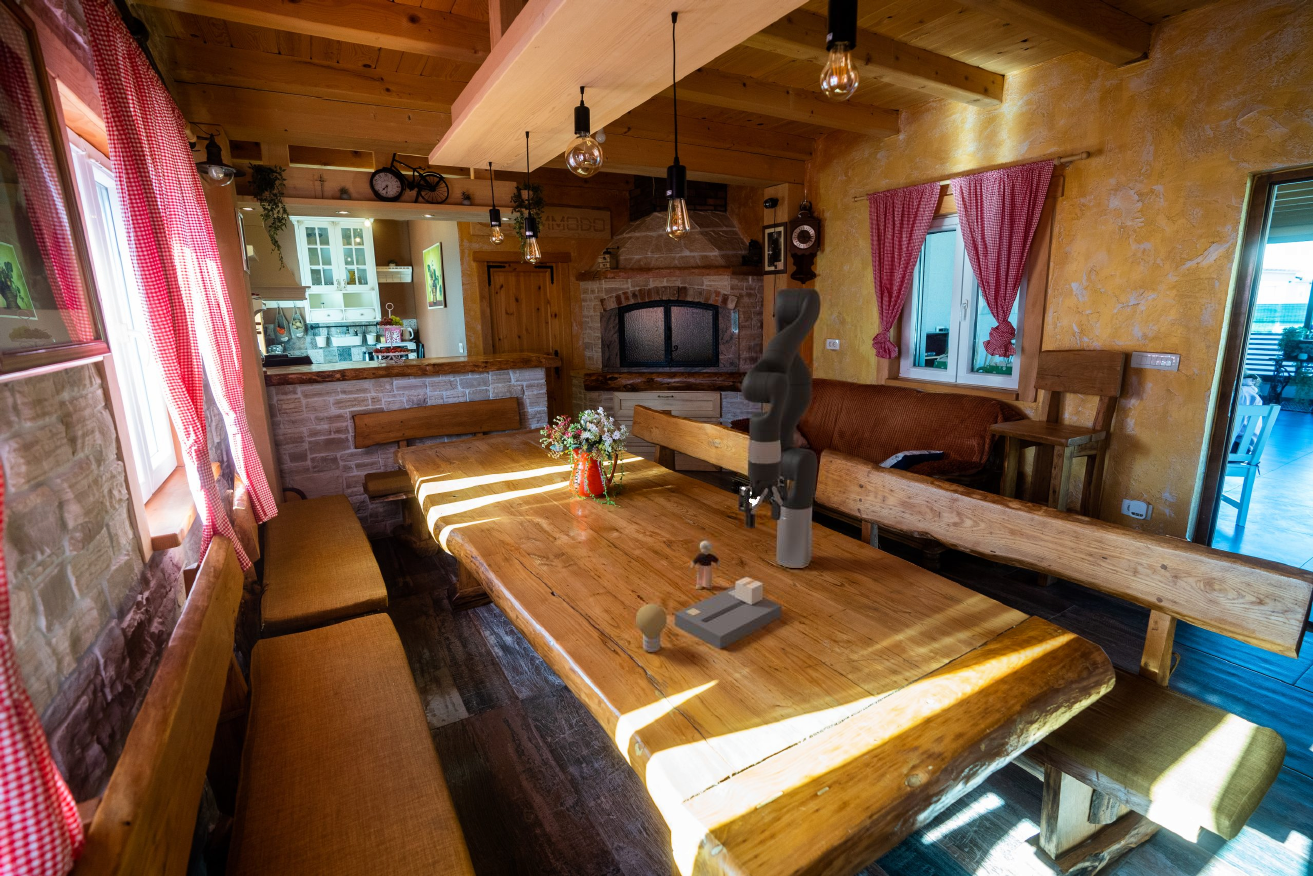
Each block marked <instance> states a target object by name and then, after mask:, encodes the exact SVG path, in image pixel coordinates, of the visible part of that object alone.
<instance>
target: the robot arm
mask: <svg viewBox="0 0 1313 876" xmlns="http://www.w3.org/2000/svg"><path fill="white" fill-rule="evenodd" d="M821 305H822V304H821V298H820V294H819V292H818V290H817V289H816V288H815V289H814V288H784V289H783V288H782V289H779V290H778V291H777V293H776V295H775V299H774V325H775V335H774V336H773V337H772V339H770V340H769V341H768V344H767V345H766V346H765V347H766V348H765V350H764V352H763V354H762V357H761V358H760V359H759V360H758V361H757V362H756V363H755V364H754V365H753V366H752V367H751V368H750V369H749V370H748V372H747V373H746V374H745V376H744V377H743V380H742V383H741V394H742V396H743V398H744V399H745V401H747V402H749V403H757V404H770V407H769V409H768V411H763V412H762V411H760V412H755V413H753V414H751V416H750V417H749V426H748V427H749V439H748V448H747V476H748V478H749V480H750V482H749V485H748V486H744V485H741V486H739V489H738V490H739V492H738V504H737V505H738V506H737V507H738V508H737V509H738V511H740V512H741V513H745V517H744V519H745V522H744V523H745V526H746V528H747V529H750V530H753V529H755V528H756V510H757V509H758V507H760V506H761V504H762V502H765V501H766V500H770V502H771V504H770V505H771V509H770V510H771V512H770V518H771V520H774V521H777V528H776V530H777V532H776V534H777V535H776V560H775V562H776V561H777V562H776V564H777V563H778V564H780V565H783V566H786V567H794V568H795V567H796V568H797V567H803V566H806V565H808V564H809V563H811V562H810V560H811V561H812V558H813V557H812V555H813V554H812V553H813V529H812V519H813V518H812V517H813V500H814V496H815V492H816V484H817V483H816V482H817V480H816V479H817V473H818V472H817V471H818V459H817V458H818V457H817V455H816V453H815V451H813V450H811V449H808V448H803V447H802V448H801V447H796V446H794V445H795V444H794V439H795V438H794V437H795V430H796V428H797V425H798V424H799V422H800V420H801V419H802V417H803V416H804V414H805V413H806V411H807V410H808V408H809V405H810V403H811V401H812V390H813V389H812V387H813V386H812V384H813V383H812V377H813V376H812V373H811V371H810V368H809V367H808V364H807V363H806V361H805V359H803V357H802V355H801V354H800V353H799V351H798V350H799V348H800V346H801V345H802V343H803V342H804V341H805V339H806V338H807V337H808V335H809V333H810V332H811V330H812V329H813V328H814V326H815V325H816V324H817V321H818V320H819V316H820V312H821ZM788 481H792V482H794V486H793V489H789V488H788ZM788 489H789V490H788ZM780 565H779V566H780Z"/></svg>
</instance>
